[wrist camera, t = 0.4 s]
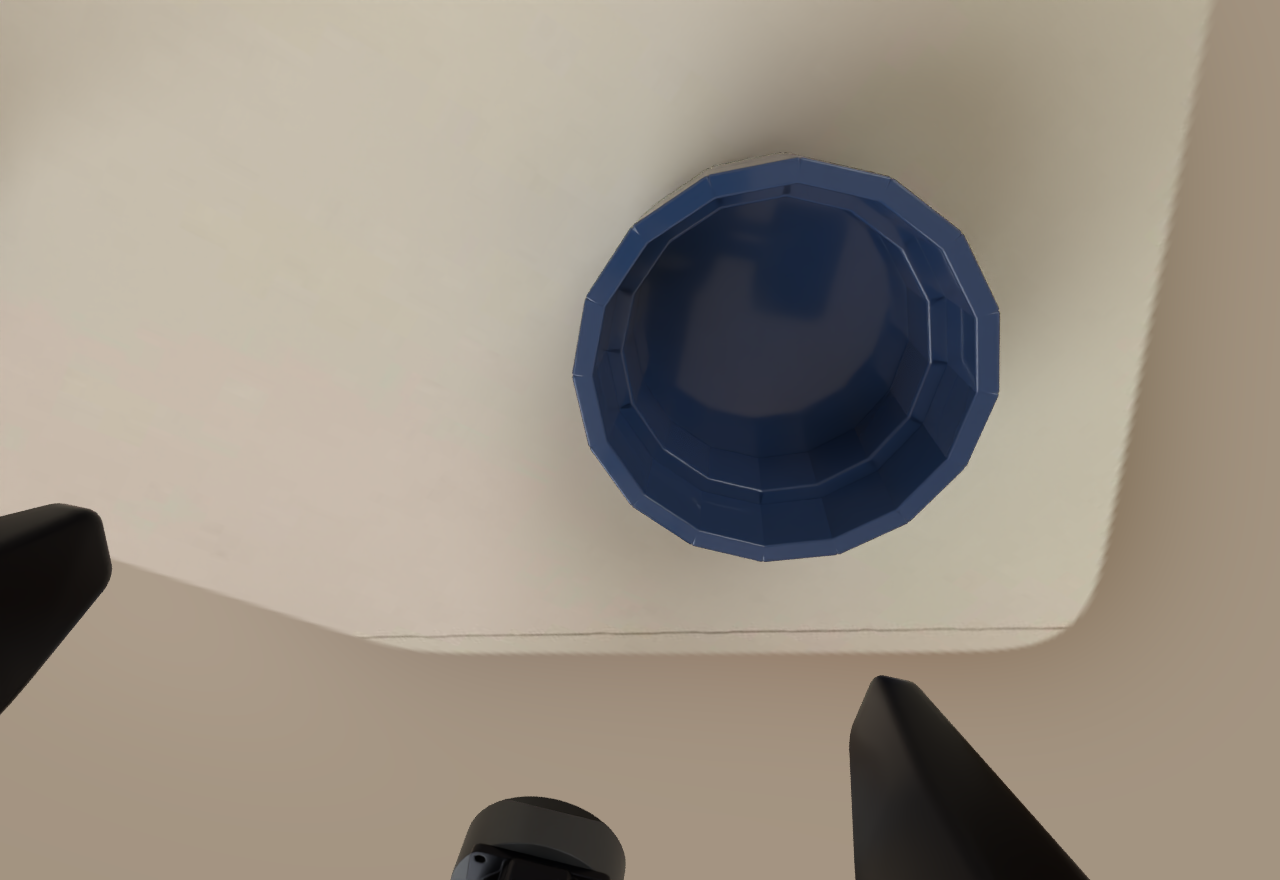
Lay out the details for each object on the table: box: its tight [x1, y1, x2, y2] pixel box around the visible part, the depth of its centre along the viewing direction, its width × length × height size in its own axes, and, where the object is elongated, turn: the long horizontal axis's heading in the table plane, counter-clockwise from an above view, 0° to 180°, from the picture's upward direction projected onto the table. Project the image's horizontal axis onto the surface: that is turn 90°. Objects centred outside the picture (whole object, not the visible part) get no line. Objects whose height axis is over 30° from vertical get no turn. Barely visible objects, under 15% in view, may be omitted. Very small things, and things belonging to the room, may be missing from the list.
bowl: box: [572, 152, 1000, 562], centre depth 18 cm, size 9×9×5 cm
